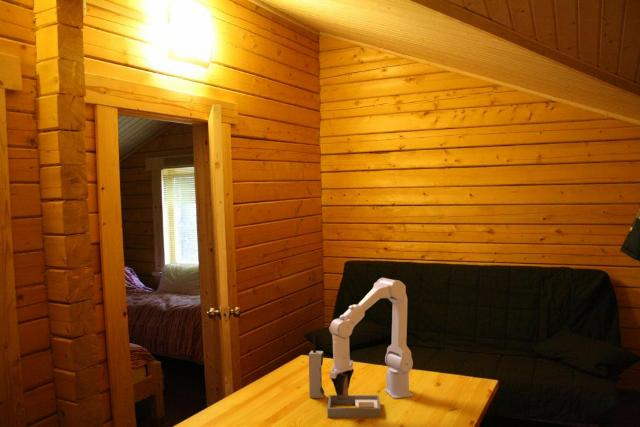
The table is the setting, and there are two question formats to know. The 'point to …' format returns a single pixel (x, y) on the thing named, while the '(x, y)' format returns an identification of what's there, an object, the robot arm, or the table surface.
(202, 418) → the table surface
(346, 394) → the walnut peg
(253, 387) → the table surface
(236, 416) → the table surface
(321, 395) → the vintage mobile phone
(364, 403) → the grey tray
